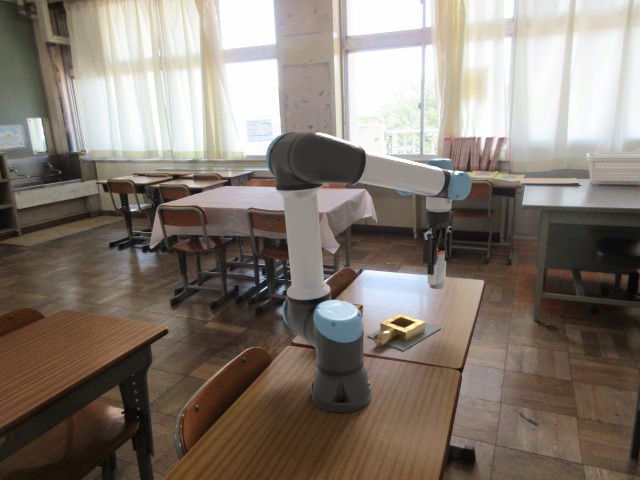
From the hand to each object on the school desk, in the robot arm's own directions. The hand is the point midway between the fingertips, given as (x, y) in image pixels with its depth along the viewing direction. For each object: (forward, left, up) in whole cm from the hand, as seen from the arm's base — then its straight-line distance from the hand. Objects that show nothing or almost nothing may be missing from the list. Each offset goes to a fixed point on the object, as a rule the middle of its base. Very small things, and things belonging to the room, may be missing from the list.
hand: (436, 281), depth 141 cm
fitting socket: (-14, +5, -16) cm, 22 cm away
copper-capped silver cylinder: (0, 0, -2) cm, 2 cm away
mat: (-10, +5, -16) cm, 19 cm away
